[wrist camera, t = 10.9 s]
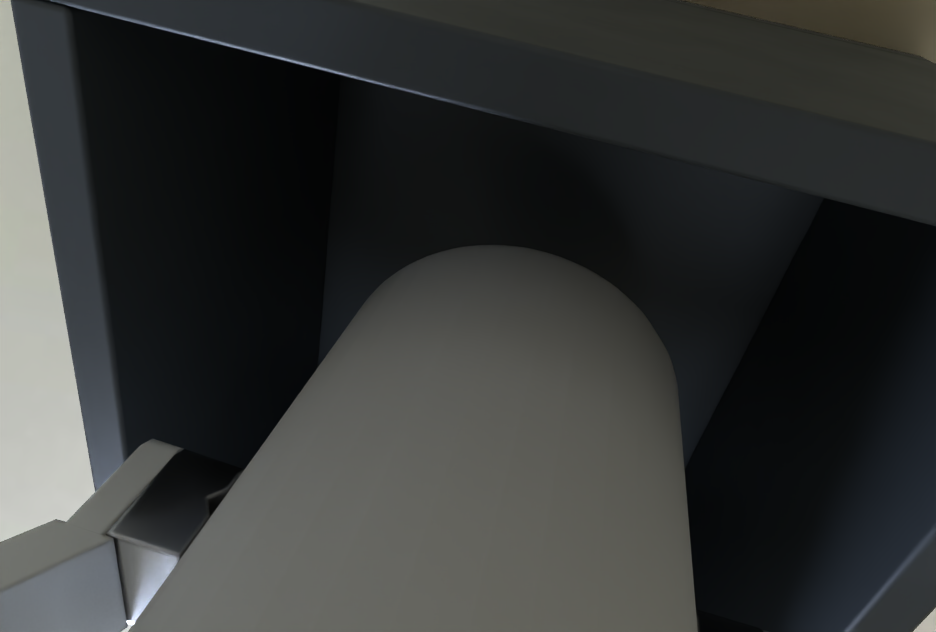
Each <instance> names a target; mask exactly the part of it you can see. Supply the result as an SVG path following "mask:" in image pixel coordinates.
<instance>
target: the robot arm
mask: <svg viewBox="0 0 936 632" xmlns="http://www.w3.org/2000/svg"><path fill="white" fill-rule="evenodd" d="M244 470H245V469H242V468H239V467H236V466H233V465H230V464H227V463H224V462H221V461H218V460H215V459H213V458H210V457H207V456H204V455H201V454H198V453H195V452H192V451H189V450H186V449H183V448H180V447H177V446H174V445H171V444H168V443H165V442H162V441H158V440H155V439H151V440H149V441H147V442H145V443H144V444H142V445H140V446H139V447H138V448H137V449H136V450H135V451H134V452H133V453H132V454H131V455H130V456H129V458H128V459H127V460H126V461H125V462H124V463H123V464H122V465H121V466H120V467H119V468H118V469H117V470H116V471H115V472H114V473H113V474H112V475H111V476H110V477H109V478H108V479H107V480H106V481H105V482H104V483H103V484H102V485H101V487H100V488H99V489H98V490H97V491H96V492H95V493H94V494H93V495H92V496H91V497H90V498H89V499H88V500H87V501H86V502H85V503H84V504H83V505H82V506H81V507H80V508H79V509H78V510H77V511H76V512H75V513H74V515H73V516H72V517H71V518H70V519H69V520H68V521H67V522H64V521H61V520H57V519H55V520H53V521H51V522H48V523H46V524H43V525H41V526H38V527H36V528H34V529H31V530H29V531H26V532H24V533H21V534H19V535H17V536H14V537H12V538H9V539H7V540H4V541H2V542H0V632H121V631H122V630H124V629H125V628H127V626H128V625H127V623H129V624H134V623H135V621H136V620H137V619H138V617H139V616H140V614H141V613H142V612H143V610H144V609H145V608H146V606H147V605H148V603H149V602H150V601H151V599H152V598H153V596H154V595H155V594H156V592H157V591H158V589H159V588H160V587H161V585H162V584H163V582H164V581H165V580H166V578H167V577H168V575H169V574H170V573H171V571H172V570H173V569H174V567H175V566H176V564H177V563H178V562H179V560H180V559H181V557H182V556H183V555H184V553H185V552H186V550H187V549H188V548H189V546H190V545H191V543H192V542H193V541H194V539H195V538H196V537H197V535H198V534H199V532H200V531H201V530H202V528H203V527H204V525H205V524H206V523H207V521H208V520H209V518H210V517H211V516H212V514H213V513H214V511H215V510H216V509H217V507H218V506H219V504H220V503H221V502H222V500H223V499H224V498H225V496H226V495H227V493H228V492H229V491H230V489H231V488H232V486H233V485H234V484H235V482H236V481H237V479H238V478H239V477H240V475H241V474H242V472H243V471H244ZM696 617H697V630H698V632H768V631H764V630H761V629H760V628H758V627H754V626H751V625H748V624H744V623H741V622H738V621H734V620H731V619H728V618H724V617H721V616H717V615H714V614H711V613H707V612H704V611H701V610H697V609H696Z"/></svg>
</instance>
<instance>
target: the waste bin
mask: <svg viewBox="0 0 936 632" xmlns="http://www.w3.org/2000/svg"><path fill="white" fill-rule="evenodd" d="M11 5H12V11H13V17H14V22H15V28H16V34H17V40H18V46H19V51H20V57H21V63H22V69H23V75H24V80H25V86H26V92H27V98H28V104H29V110H30V115H31V121H32V127H33V133H34V139H35V144H36V150H37V156H38V162H39V168H40V173H41V179H42V185H43V191H44V197H45V203H46V208H47V214H48V220H49V226H50V232H51V237H52V243H53V249H54V255H55V261H56V267H57V272H58V278H59V284H60V290H61V296H62V301H63V307H64V313H65V319H66V325H67V330H68V336H69V342H70V348H71V354H72V360H73V365H74V371H75V377H76V383H77V389H78V394H79V400H80V406H81V412H82V418H83V423H84V429H85V435H86V441H87V447H88V453H89V458H90V464H91V470H92V476H93V482H94V487H95V492H96V491H97V490H98V489H99V488H100V487H101V485H102V484H103V483H104V482H105V481H106V480H107V479H108V478H109V477H110V476H111V475H112V474H113V473H114V472H115V471H116V470H117V469H118V468H119V467H120V466H121V465H122V464H123V463H124V462H125V461H126V460H127V459H128V458H129V456H130V455H131V454H132V453H133V452H134V451H135V450H136V449H137V448H138V447H139V446H140V445H142V444H144V443H145V442H147V441H149V440H151V439H155V440H158V441H162V442H165V443H168V444H171V445H174V446H177V447H180V448H183V449H186V450H189V451H192V452H195V453H198V454H201V455H204V456H207V457H210V458H213V459H215V460H218V461H221V462H224V463H227V464H230V465H233V466H236V467H239V468H242V469H245V468H246V467H247V465H248V464H249V463H250V461H251V460H252V459H253V457H254V456H255V454H256V453H257V452H258V450H259V449H260V447H261V446H262V445H263V443H264V442H265V440H266V439H267V438H268V436H269V435H270V433H271V432H272V431H273V429H274V428H275V426H276V425H277V424H278V422H279V421H280V420H281V418H282V417H283V415H284V414H285V413H286V411H287V410H288V408H289V407H290V406H291V404H292V403H293V401H294V400H295V399H296V397H297V396H298V394H299V393H300V392H301V390H302V389H303V388H304V386H305V385H306V383H307V382H308V381H309V379H310V378H311V376H312V375H313V374H314V372H315V371H316V369H317V368H318V367H319V365H320V364H321V362H322V361H323V360H324V358H325V357H326V355H327V354H328V353H329V351H330V350H331V349H332V347H333V346H334V344H335V343H336V342H337V340H338V339H339V337H340V336H341V335H342V333H343V332H344V330H345V329H346V328H347V326H348V325H349V323H350V322H351V321H352V319H353V318H354V316H355V315H356V314H357V312H358V311H359V310H360V308H361V307H362V305H363V304H364V303H365V301H366V300H367V299H368V298H369V297H370V295H371V294H372V293H373V292H374V291H375V290H376V289H377V288H378V287H379V286H380V285H381V284H382V283H383V282H384V281H385V280H387V279H388V278H389V277H391V276H392V275H393V274H395V273H396V272H398V271H399V270H400V269H402V268H404V267H405V266H407V265H409V264H411V263H413V262H415V261H417V260H420V259H422V258H424V257H427V256H429V255H432V254H435V253H438V252H442V251H446V250H450V249H454V248H459V247H466V246H476V245H506V246H518V247H525V248H530V249H534V250H538V251H542V252H546V253H550V254H553V255H556V256H559V257H562V258H564V259H567V260H569V261H572V262H574V263H576V264H578V265H580V266H583V267H585V268H587V269H589V270H590V271H592V272H594V273H596V274H597V275H599V276H600V277H602V278H604V279H605V280H607V281H608V282H610V283H611V284H612V285H614V286H615V287H616V288H618V289H619V290H620V291H621V292H622V293H623V294H625V295H626V296H627V297H628V298H629V299H630V300H631V301H632V302H633V303H634V304H635V305H636V306H637V307H638V308H639V309H640V310H641V311H642V312H643V313H644V315H645V316H646V318H647V319H648V320H649V322H650V323H651V325H652V326H653V328H654V330H655V331H656V333H657V334H658V336H659V338H660V339H661V341H662V342H663V344H664V346H665V348H666V350H667V351H668V354H669V356H670V359H671V362H672V365H673V369H674V372H675V376H676V380H677V385H678V396H679V409H680V421H681V433H682V445H683V458H684V470H685V482H686V495H687V507H688V519H689V531H690V544H691V556H692V568H693V580H694V593H695V605H696V609H697V610H701V611H704V612H707V613H711V614H714V615H717V616H721V617H724V618H728V619H731V620H734V621H738V622H741V623H744V624H748V625H751V626H754V627H758V628H760V629H761V630H764V631H768V632H913V631H914V630H915V629H916V628H917V626H918V625H919V624H920V623H921V622H922V621H923V620H924V619H925V618H926V617H927V616H928V615H929V614H930V613H931V612H932V611H933V610H934V609H935V608H936V63H933V62H931V61H929V60H927V59H925V58H923V57H921V56H917V55H913V54H909V53H904V52H900V51H896V50H891V49H887V48H883V47H878V46H874V45H870V44H866V43H861V42H857V41H853V40H848V39H844V38H840V37H835V36H831V35H827V34H822V33H818V32H814V31H810V30H805V29H801V28H797V27H792V26H788V25H784V24H779V23H775V22H771V21H767V20H762V19H758V18H754V17H749V16H745V15H741V14H736V13H732V12H728V11H723V10H719V9H715V8H711V7H706V6H702V5H698V4H693V3H689V2H685V1H680V0H11ZM127 624H129V623H127ZM130 625H133V624H130Z"/></svg>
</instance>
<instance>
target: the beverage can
mask: <svg viewBox="0 0 936 632" xmlns="http://www.w3.org/2000/svg"><path fill="white" fill-rule="evenodd" d="M128 632H698V630H697V617H696V605H695V593H694V580H693V568H692V556H691V544H690V531H689V519H688V507H687V495H686V482H685V470H684V458H683V445H682V433H681V421H680V409H679V396H678V385H677V380H676V376H675V372H674V369H673V365H672V362H671V359H670V356H669V354H668V351H667V350H666V348H665V346H664V344H663V342H662V341H661V339H660V338H659V336H658V334H657V333H656V331H655V330H654V328H653V326H652V325H651V323H650V322H649V320H648V319H647V318H646V316H645V315H644V313H643V312H642V311H641V310H640V309H639V308H638V307H637V306H636V305H635V304H634V303H633V302H632V301H631V300H630V299H629V298H628V297H627V296H626V295H625V294H623V293H622V292H621V291H620V290H619V289H618V288H616V287H615V286H614V285H612V284H611V283H610V282H608V281H607V280H605V279H604V278H602V277H600V276H599V275H597V274H596V273H594V272H592V271H590V270H589V269H587V268H585V267H583V266H580V265H578V264H576V263H574V262H572V261H569V260H567V259H564V258H562V257H559V256H556V255H553V254H550V253H546V252H542V251H538V250H534V249H530V248H525V247H518V246H506V245H476V246H466V247H459V248H454V249H450V250H446V251H442V252H438V253H435V254H432V255H429V256H427V257H424V258H422V259H420V260H417V261H415V262H413V263H411V264H409V265H407V266H405V267H404V268H402V269H400V270H399V271H398V272H396V273H395V274H393V275H392V276H391V277H389V278H388V279H387V280H385V281H384V282H383V283H382V284H381V285H380V286H379V287H378V288H377V289H376V290H375V291H374V292H373V293H372V294H371V295H370V297H369V298H368V299H367V300H366V301H365V303H364V304H363V305H362V307H361V308H360V310H359V311H358V312H357V314H356V315H355V316H354V318H353V319H352V321H351V322H350V323H349V325H348V326H347V328H346V329H345V330H344V332H343V333H342V335H341V336H340V337H339V339H338V340H337V342H336V343H335V344H334V346H333V347H332V349H331V350H330V351H329V353H328V354H327V355H326V357H325V358H324V360H323V361H322V362H321V364H320V365H319V367H318V368H317V369H316V371H315V372H314V374H313V375H312V376H311V378H310V379H309V381H308V382H307V383H306V385H305V386H304V388H303V389H302V390H301V392H300V393H299V394H298V396H297V397H296V399H295V400H294V401H293V403H292V404H291V406H290V407H289V408H288V410H287V411H286V413H285V414H284V415H283V417H282V418H281V420H280V421H279V422H278V424H277V425H276V426H275V428H274V429H273V431H272V432H271V433H270V435H269V436H268V438H267V439H266V440H265V442H264V443H263V445H262V446H261V447H260V449H259V450H258V452H257V453H256V454H255V456H254V457H253V459H252V460H251V461H250V463H249V464H248V465H247V467H246V468H245V470H244V471H243V472H242V474H241V475H240V477H239V478H238V479H237V481H236V482H235V484H234V485H233V486H232V488H231V489H230V491H229V492H228V493H227V495H226V496H225V498H224V499H223V500H222V502H221V503H220V504H219V506H218V507H217V509H216V510H215V511H214V513H213V514H212V516H211V517H210V518H209V520H208V521H207V523H206V524H205V525H204V527H203V528H202V530H201V531H200V532H199V534H198V535H197V537H196V538H195V539H194V541H193V542H192V543H191V545H190V546H189V548H188V549H187V550H186V552H185V553H184V555H183V556H182V557H181V559H180V560H179V562H178V563H177V564H176V566H175V567H174V569H173V570H172V571H171V573H170V574H169V575H168V577H167V578H166V580H165V581H164V582H163V584H162V585H161V587H160V588H159V589H158V591H157V592H156V594H155V595H154V596H153V598H152V599H151V601H150V602H149V603H148V605H147V606H146V608H145V609H144V610H143V612H142V613H141V614H140V616H139V617H138V619H137V620H136V621H135V623H134V624H133V626H132V627H131V628H130V630H129V631H128Z"/></svg>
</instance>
